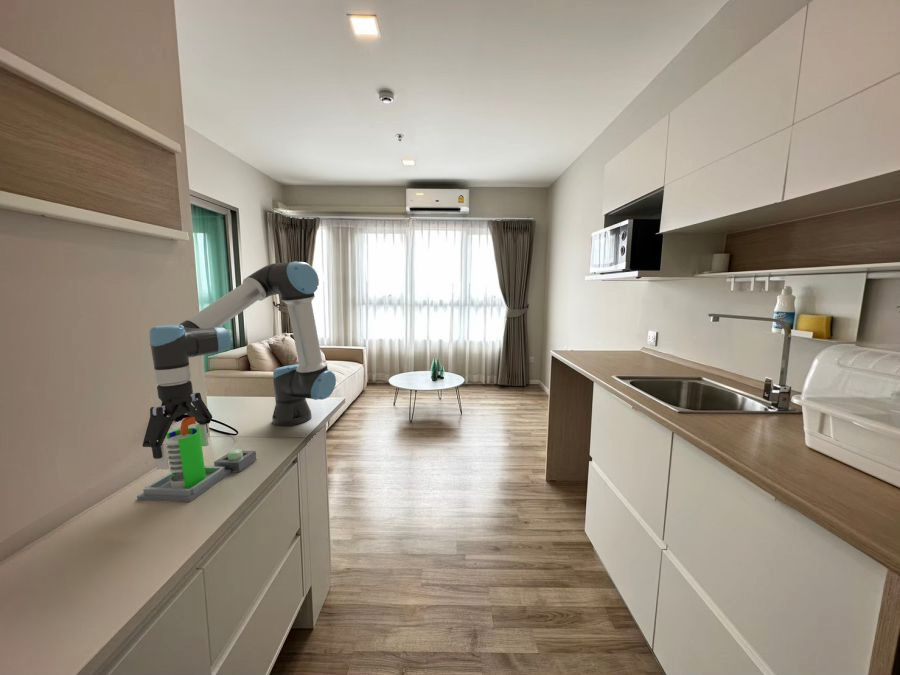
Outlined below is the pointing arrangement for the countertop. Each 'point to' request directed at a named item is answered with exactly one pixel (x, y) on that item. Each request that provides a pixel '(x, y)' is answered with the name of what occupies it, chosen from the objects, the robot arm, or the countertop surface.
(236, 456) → the button
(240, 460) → the dark grey square holder
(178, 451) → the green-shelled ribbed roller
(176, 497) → the grey square tray
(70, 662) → the countertop surface
